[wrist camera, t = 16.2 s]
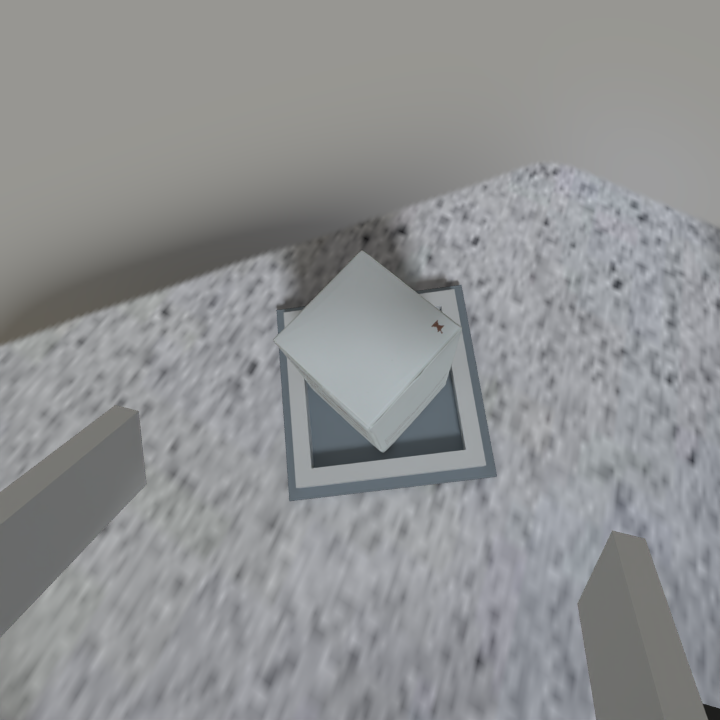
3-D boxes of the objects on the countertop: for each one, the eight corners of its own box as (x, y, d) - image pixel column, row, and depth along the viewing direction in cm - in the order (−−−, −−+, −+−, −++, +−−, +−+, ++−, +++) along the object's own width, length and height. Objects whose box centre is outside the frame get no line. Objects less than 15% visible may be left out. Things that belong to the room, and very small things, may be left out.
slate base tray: (460, 288, 40) (463, 278, 39) (495, 476, 36) (500, 475, 34) (278, 313, 41) (272, 304, 40) (291, 500, 37) (285, 500, 35)
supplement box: (376, 323, 40) (364, 243, 28) (448, 385, 38) (468, 327, 26) (310, 390, 39) (268, 337, 26) (381, 457, 37) (370, 433, 25)
